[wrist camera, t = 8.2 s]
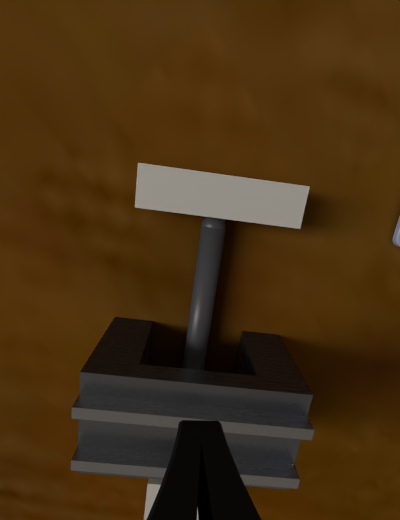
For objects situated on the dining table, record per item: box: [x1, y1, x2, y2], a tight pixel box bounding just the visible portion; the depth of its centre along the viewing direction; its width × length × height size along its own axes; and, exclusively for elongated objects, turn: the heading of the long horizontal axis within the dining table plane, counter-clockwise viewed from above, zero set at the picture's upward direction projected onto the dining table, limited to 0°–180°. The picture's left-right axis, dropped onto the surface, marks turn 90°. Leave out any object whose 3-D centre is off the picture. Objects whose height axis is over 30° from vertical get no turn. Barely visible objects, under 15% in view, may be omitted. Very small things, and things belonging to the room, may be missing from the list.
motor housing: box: [71, 317, 314, 489], centre depth 16 cm, size 11×6×6 cm, turn 83°
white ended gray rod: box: [135, 163, 310, 520], centre depth 17 cm, size 8×24×3 cm, turn 173°
